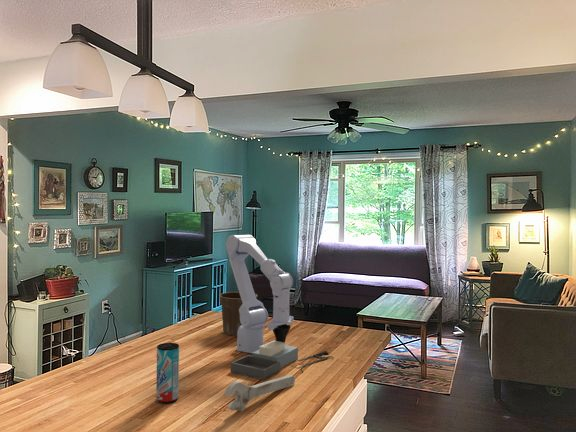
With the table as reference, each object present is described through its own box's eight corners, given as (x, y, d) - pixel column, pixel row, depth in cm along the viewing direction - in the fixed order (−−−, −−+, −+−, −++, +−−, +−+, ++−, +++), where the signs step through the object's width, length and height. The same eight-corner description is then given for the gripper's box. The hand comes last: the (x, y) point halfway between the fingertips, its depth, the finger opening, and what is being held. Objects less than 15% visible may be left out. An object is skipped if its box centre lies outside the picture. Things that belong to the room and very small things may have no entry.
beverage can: (154, 397, 130) (155, 343, 130) (176, 394, 133) (176, 341, 133) (157, 405, 125) (158, 350, 125) (180, 402, 127) (181, 347, 127)
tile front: (259, 353, 158) (259, 346, 158) (266, 350, 162) (266, 343, 162) (270, 356, 156) (270, 348, 156) (277, 352, 160) (277, 345, 160)
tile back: (266, 350, 162) (266, 343, 162) (273, 347, 166) (273, 340, 166) (277, 352, 160) (277, 345, 160) (284, 349, 164) (284, 342, 164)
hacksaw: (325, 353, 174) (325, 349, 174) (346, 360, 167) (346, 356, 167) (276, 367, 158) (276, 363, 158) (297, 376, 150) (297, 371, 150)
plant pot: (249, 326, 211) (250, 290, 210) (262, 335, 196) (263, 297, 195) (214, 329, 204) (214, 292, 204) (224, 339, 189) (225, 299, 189)
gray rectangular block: (252, 364, 160) (252, 352, 159) (274, 353, 172) (274, 342, 171) (276, 369, 154) (277, 357, 154) (297, 358, 166) (297, 347, 166)
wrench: (293, 394, 142) (227, 417, 118) (289, 392, 143) (222, 415, 119) (296, 367, 143) (230, 384, 118) (291, 366, 144) (225, 383, 119)
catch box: (230, 371, 152) (230, 362, 152) (247, 363, 160) (247, 355, 160) (263, 380, 145) (264, 370, 145) (280, 371, 153) (280, 362, 153)
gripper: (280, 312, 157) (279, 353, 157) (301, 305, 170) (300, 342, 170) (262, 310, 161) (262, 349, 161) (284, 303, 173) (283, 339, 174)
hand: (280, 345), depth 166 cm, fingers closed
